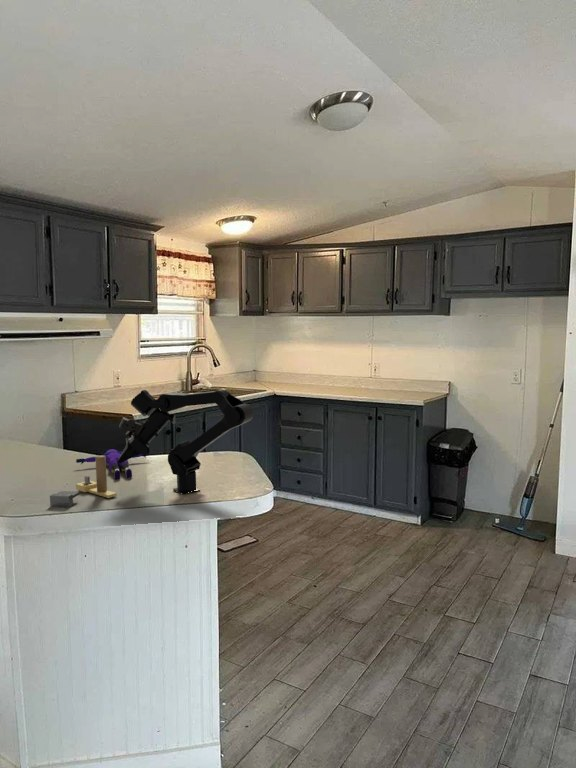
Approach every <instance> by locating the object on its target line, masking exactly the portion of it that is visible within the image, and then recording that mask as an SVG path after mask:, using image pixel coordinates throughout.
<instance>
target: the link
mask: <svg viewBox="0 0 576 768" xmlns="http://www.w3.org/2000/svg"><path fill="white" fill-rule="evenodd" d="M94 457H95V458H96V461H95V475H96V477H95V478H96V479H95V480H96V481H92V480H90V484H88V485H85V481H83V482H78V483H75V490H76V491H79V492H81V491H83V492H82V493H84V492H86V493H90V494H93V495H96V496H97V495H98V496H101V497H104V498H107V499H110V498H113V497H117V494H118V493H117V492H114V491H110V490H108V485H107V484H108V482H107V481H108V479H107V463H106V456H102V455H97V456H94Z"/></svg>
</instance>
